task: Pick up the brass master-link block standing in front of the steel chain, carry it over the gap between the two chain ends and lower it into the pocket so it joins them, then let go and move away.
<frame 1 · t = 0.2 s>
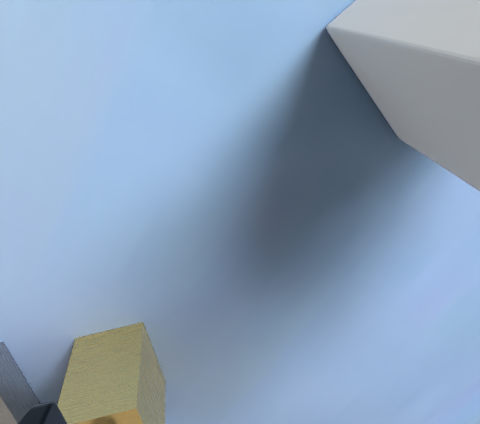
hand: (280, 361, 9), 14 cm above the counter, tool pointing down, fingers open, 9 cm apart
milk carton: (423, 35, 21), on the counter
master link: (122, 360, 27), on the counter
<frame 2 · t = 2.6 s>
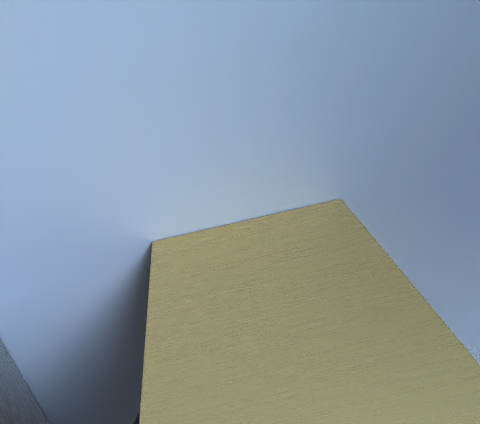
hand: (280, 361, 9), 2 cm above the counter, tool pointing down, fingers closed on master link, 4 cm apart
master link: (265, 312, 10), on the counter, touching gripper
when the fingers open (3 cm above the counter, at t = 6.0 s): master link drops 2 cm, resting in chain.
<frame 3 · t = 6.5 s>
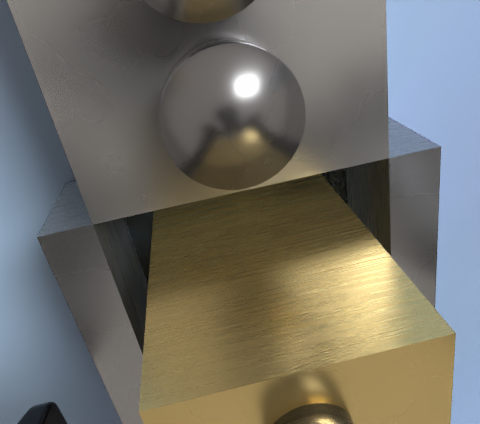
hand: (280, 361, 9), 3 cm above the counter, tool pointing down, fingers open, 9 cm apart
chain: (251, 270, 12), on the counter
master link: (252, 267, 12), resting in chain
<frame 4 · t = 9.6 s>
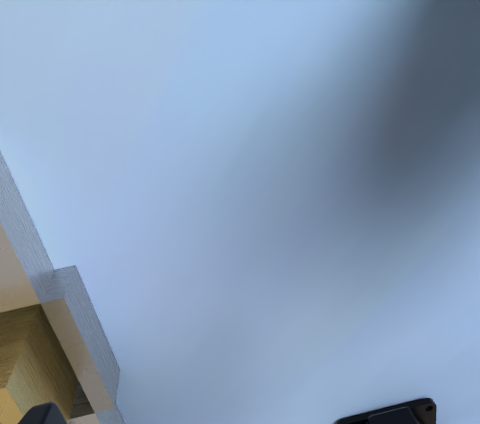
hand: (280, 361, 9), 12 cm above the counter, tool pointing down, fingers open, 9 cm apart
chain: (25, 338, 22), on the counter
master link: (26, 337, 22), resting in chain
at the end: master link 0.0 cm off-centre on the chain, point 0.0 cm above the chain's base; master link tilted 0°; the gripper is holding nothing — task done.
